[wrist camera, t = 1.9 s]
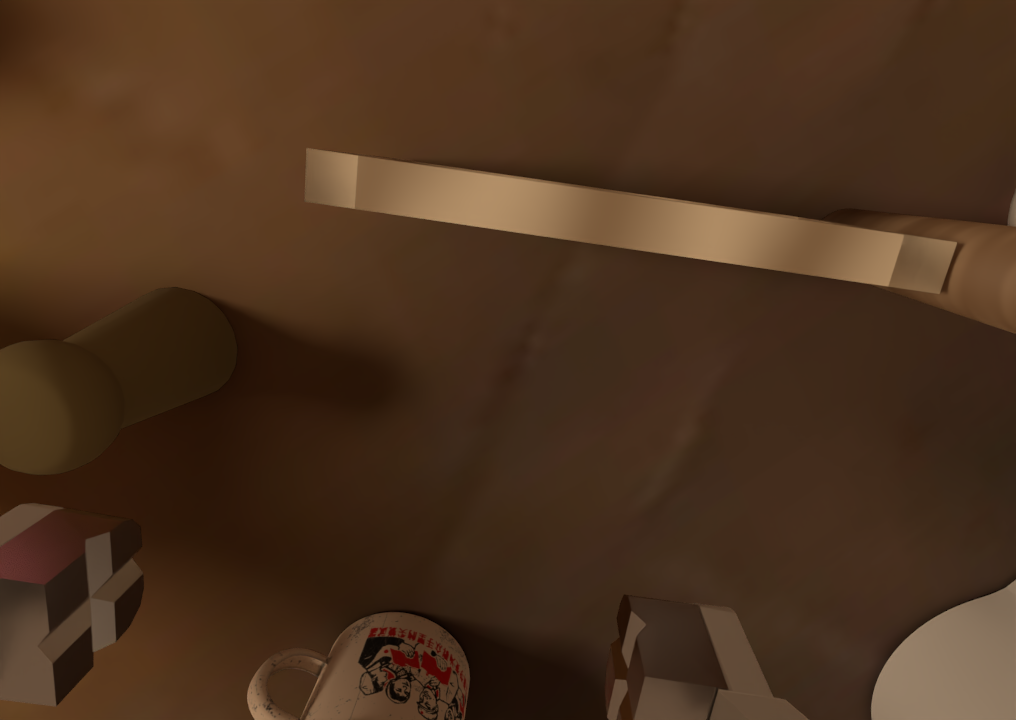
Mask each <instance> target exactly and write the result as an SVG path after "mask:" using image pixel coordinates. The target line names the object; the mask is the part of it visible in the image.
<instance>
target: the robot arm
mask: <svg viewBox="0 0 1016 720" xmlns="http://www.w3.org/2000/svg"><path fill="white" fill-rule="evenodd" d="M141 547H142V539H141V527H140V525H138V524H137V523H136V522H135V521H134V520H133V519H127V518H121V517H116V516H110V515H104V514H98V513H93V512H87V511H81V510H75V509H70V508H62V507H57V506H51V505H44V504H37V503H28V504H20V505H18V506H17V507H15V508H13V509H12V510H10V511H9V512H7V513H5V514H4V515H2V516H1V517H0V700H8V701H16V702H24V703H32V704H41V705H49V706H57V705H58V704H59V703H60V702H61V701H62V700H63V699H64V698H65V696H66V695H67V694H68V693H69V692H70V691H71V690H72V689H73V688H74V687H75V686H76V685H77V684H78V682H79V681H80V680H81V679H82V678H83V677H84V676H85V675H86V674H87V673H88V672H89V671H90V670H91V668H92V667H93V654H94V652H95V651H97V650H99V649H102V648H104V647H106V646H108V645H110V644H112V643H114V642H116V641H117V640H118V639H119V638H120V637H121V636H122V634H123V633H124V632H125V631H126V630H127V629H128V628H129V626H130V625H131V623H132V621H133V619H134V617H135V615H136V613H137V611H138V609H139V607H140V604H141V599H142V594H143V589H144V581H143V572H142V571H141V570H140V568H139V567H138V565H137V564H136V563H135V561H134V560H133V559H132V558H133V557H134V556H135V554H136V553H137V552H138V551H139V550H140V549H141ZM617 625H618V631H619V638H618V639H617V640H616V641H614V642H613V643H612V644H611V646H610V651H609V656H608V661H607V669H606V680H605V702H606V712H607V718H608V719H609V720H809V719H807V718H806V717H805V716H804V715H803V714H802V713H800V712H799V711H798V710H797V709H796V708H794V707H793V706H792V705H791V704H790V703H789V702H787V701H786V700H785V699H779V698H774V697H773V695H772V693H771V691H770V688H769V686H768V684H767V682H766V680H765V677H764V675H763V673H762V671H761V668H760V666H759V664H758V662H757V660H756V657H755V655H754V653H753V651H752V648H751V646H750V644H749V642H748V640H747V637H746V635H745V633H744V631H743V629H742V626H741V624H740V622H739V620H738V617H737V615H736V613H735V612H734V611H733V610H732V609H731V608H730V607H722V606H714V605H706V604H697V603H694V604H689V603H682V602H675V601H668V600H661V599H654V598H646V597H639V596H632V595H625V594H624V595H623V598H622V600H621V602H620V606H619V610H618V614H617ZM871 716H872V720H1016V580H1015V581H1014V582H1012V583H1011V584H1010V585H1008V586H1007V587H1006V588H1004V589H1002V590H1000V591H998V592H995V593H992V594H990V595H987V596H984V597H981V598H978V599H975V600H972V601H969V602H966V603H964V604H961V605H959V606H956V607H954V608H952V609H949V610H947V611H945V612H943V613H942V614H940V615H938V616H936V617H934V618H933V619H931V620H930V621H928V622H927V623H925V624H924V625H922V626H921V627H919V628H918V629H917V630H916V631H914V632H913V633H912V634H911V635H910V636H909V637H908V638H906V639H905V640H904V641H903V642H902V643H901V645H900V646H899V647H898V648H897V649H896V650H895V651H894V653H893V654H892V655H891V657H890V658H889V659H888V661H887V662H886V664H885V666H884V667H883V669H882V671H881V673H880V675H879V677H878V680H877V682H876V685H875V688H874V692H873V697H872V706H871Z"/></svg>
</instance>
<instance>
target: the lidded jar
mask: <svg viewBox="0 0 1016 720" xmlns="http://www.w3.org/2000/svg"><path fill="white" fill-rule="evenodd" d="M1007 226H1015V227H1016V190H1015V193H1014V196H1013V198H1012V201H1011V205H1010V210H1009V215H1008V225H1007Z"/></svg>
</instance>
